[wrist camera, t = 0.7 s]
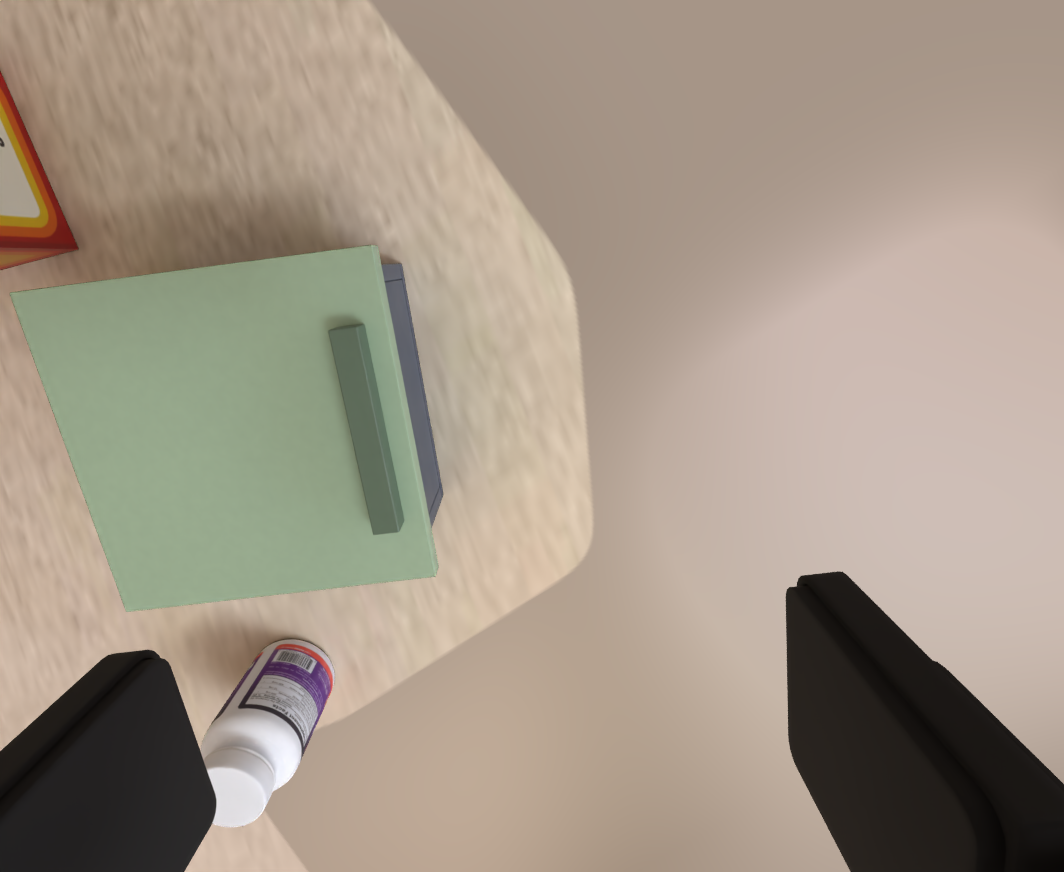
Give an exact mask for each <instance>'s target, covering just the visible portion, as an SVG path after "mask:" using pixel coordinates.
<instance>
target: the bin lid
mask: <svg viewBox="0 0 1064 872" xmlns="http://www.w3.org/2000/svg"><path fill="white" fill-rule="evenodd" d="M10 296H11V299H12V302H13V304H14V307H15V310H16V313H17V315H18V318H19V321H20V324H21V326H22V329H23V332H24V334H25V337H26V340H27V343H28V345H29V348H30V351H31V354H32V356H33V359H34V362H35V364H36V367H37V370H38V373H39V375H40V378H41V381H42V383H43V386H44V389H45V392H46V394H47V397H48V400H49V403H50V405H51V408H52V411H53V413H54V416H55V419H56V422H57V424H58V427H59V430H60V433H61V435H62V438H63V441H64V443H65V446H66V449H67V452H68V454H69V457H70V460H71V462H72V465H73V468H74V471H75V473H76V476H77V479H78V482H79V484H80V487H81V490H82V492H83V495H84V498H85V501H86V503H87V506H88V509H89V511H90V514H91V517H92V520H93V522H94V525H95V528H96V531H97V533H98V536H99V539H100V541H101V544H102V547H103V550H104V552H105V555H106V558H107V561H108V563H109V566H110V569H111V571H112V574H113V577H114V580H115V582H116V585H117V588H118V590H119V593H120V596H121V599H122V601H123V604H124V607H125V610H126V612H131V611H140V610H148V609H157V608H166V607H175V606H183V605H192V604H201V603H209V602H218V601H227V600H236V599H244V598H253V597H262V596H271V595H279V594H288V593H297V592H305V591H314V590H323V589H332V588H340V587H349V586H358V585H366V584H375V583H384V582H393V581H401V580H410V579H419V578H428V577H435V576H436V573H437V570H438V561H437V555H436V550H435V545H434V540H433V534H432V529H431V524H430V518H429V513H428V508H427V503H426V497H425V492H424V487H423V482H422V476H421V471H420V466H419V461H418V455H417V450H416V445H415V439H414V434H413V429H412V424H411V418H410V413H409V408H408V403H407V397H406V392H405V387H404V382H403V376H402V371H401V366H400V360H399V355H398V350H397V345H396V339H395V334H394V329H393V324H392V318H391V313H390V308H389V303H388V297H387V292H386V287H385V282H384V276H383V271H382V266H381V260H380V255H379V250H378V246H377V245H366V246H359V247H351V248H343V249H336V250H328V251H321V252H313V253H306V254H298V255H290V256H283V257H275V258H268V259H260V260H253V261H245V262H238V263H230V264H222V265H215V266H207V267H200V268H192V269H185V270H177V271H169V272H162V273H154V274H147V275H139V276H132V277H124V278H116V279H109V280H101V281H94V282H86V283H79V284H71V285H63V286H56V287H48V288H41V289H33V290H26V291H18V292H11V293H10Z"/></svg>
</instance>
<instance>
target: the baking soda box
mask: <svg viewBox="0 0 1064 872" xmlns="http://www.w3.org/2000/svg"><path fill="white" fill-rule="evenodd" d="M74 250H78V247H77V244H76V242H75V240H74V238H73V235H72V233H71V231H70V229H69V226H68V224H67V222H66V219H65V217H64V215H63V213H62V210H61V208H60V206H59V203H58V201H57V199H56V197H55V194H54V192H53V190H52V188H51V185H50V183H49V181H48V178H47V176H46V174H45V172H44V169H43V167H42V165H41V163H40V160H39V158H38V156H37V153H36V151H35V149H34V147H33V144H32V142H31V140H30V137H29V135H28V133H27V131H26V128H25V126H24V124H23V122H22V119H21V117H20V115H19V112H18V110H17V108H16V106H15V103H14V101H13V99H12V96H11V94H10V92H9V90H8V87H7V85H6V83H5V81H4V78H3V76H2V74H1V71H0V270H3V269H6V268H10V267H14V266H18V265H21V264H25V263H29V262H33V261H36V260H40V259H44V258H48V257H51V256H55V255H59V254H63V253H67V252H70V251H74Z"/></svg>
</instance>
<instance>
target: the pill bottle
mask: <svg viewBox="0 0 1064 872" xmlns="http://www.w3.org/2000/svg"><path fill="white" fill-rule="evenodd" d="M334 680H335V673H334V668H333V666H332V663H331V661H330V659H329V658H328V657H327V655H326V654H325V653H324V652H323V651H322V650H320V649H319V648H318V647H316V646H314V645H312V644H310V643H308V642H305V641H302V640H295V639H290V640H281V641H277V642H275V643H272V644H270V645H269V646H267V647H266V648H264V649H263V650H262V651H261V652H260V653H259V655H258V656H257V657H256V658H255V660H254V661H253V663H252V664H251V666H250V667H249V669H248V670H247V672H246V673H245V675H244V676H243V678H242V679H241V681H240V682H239V684H238V685H237V687H236V688H235V690H234V691H233V693H232V694H231V696H230V697H229V698H228V700H227V701H226V703H225V704H224V706H223V707H222V709H221V710H220V712H219V713H218V715H217V716H216V718H215V719H214V721H213V722H212V723H211V725H210V727H209V728H208V730H207V732H206V733H205V735H204V738H203V740H202V744H201V755H202V758H203V760H204V763H205V766H206V769H207V772H208V775H209V778H210V780H211V783H212V786H213V789H214V792H215V795H216V802H217V806H216V813H215V817H214V820H213V822H212V824H214V825H217V826H222V827H239V826H244V825H247V824H249V823H251V822H253V821H254V820H256V819H257V818H258V817H259V816H260V815H261V813H262V812H263V810H264V808H265V806H266V804H267V802H268V801H269V799H270V796H271V794H272V792H273V791H274V790H276V789H278V788H279V787H281V786H283V785H284V784H285V783H286V782H288V780H290V778H291V777H292V776H293V775H294V773H295V771H296V769H297V767H298V766H299V763H300V761H301V759H302V756H303V754H304V752H305V749H306V747H307V745H308V743H309V740H310V738H311V736H312V733H313V731H314V729H315V727H316V725H317V722H318V720H319V718H320V716H321V713H322V711H323V709H324V707H325V705H326V702H327V700H328V698H329V696H330V693H331V691H332V688H333V685H334Z"/></svg>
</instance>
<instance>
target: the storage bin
mask: <svg viewBox="0 0 1064 872" xmlns="http://www.w3.org/2000/svg"><path fill="white" fill-rule="evenodd" d="M381 266H382V271H383V276H384V282H385V287H386V292H387V297H388V303H389V308H390V313H391V318H392V324H393V329H394V334H395V339H396V345H397V350H398V355H399V360H400V366H401V371H402V376H403V382H404V387H405V392H406V397H407V403H408V408H409V413H410V418H411V424H412V429H413V434H414V439H415V445H416V450H417V455H418V461H419V466H420V471H421V476H422V482H423V487H424V492H425V497H426V503H427V508H428V513H429V518H430V524H431V528H432V525H433V522H434V520H435V517H436V514H437V511H438V509H439V506H440V503H441V500H442V497H443V490H442V485H441V479H440V473H439V468H438V462H437V457H436V451H435V446H434V440H433V435H432V429H431V424H430V418H429V412H428V407H427V401H426V396H425V390H424V385H423V379H422V374H421V368H420V363H419V357H418V351H417V346H416V340H415V335H414V329H413V324H412V318H411V313H410V307H409V302H408V296H407V290H406V285H405V279H404V274H403V268H402V264H381Z"/></svg>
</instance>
